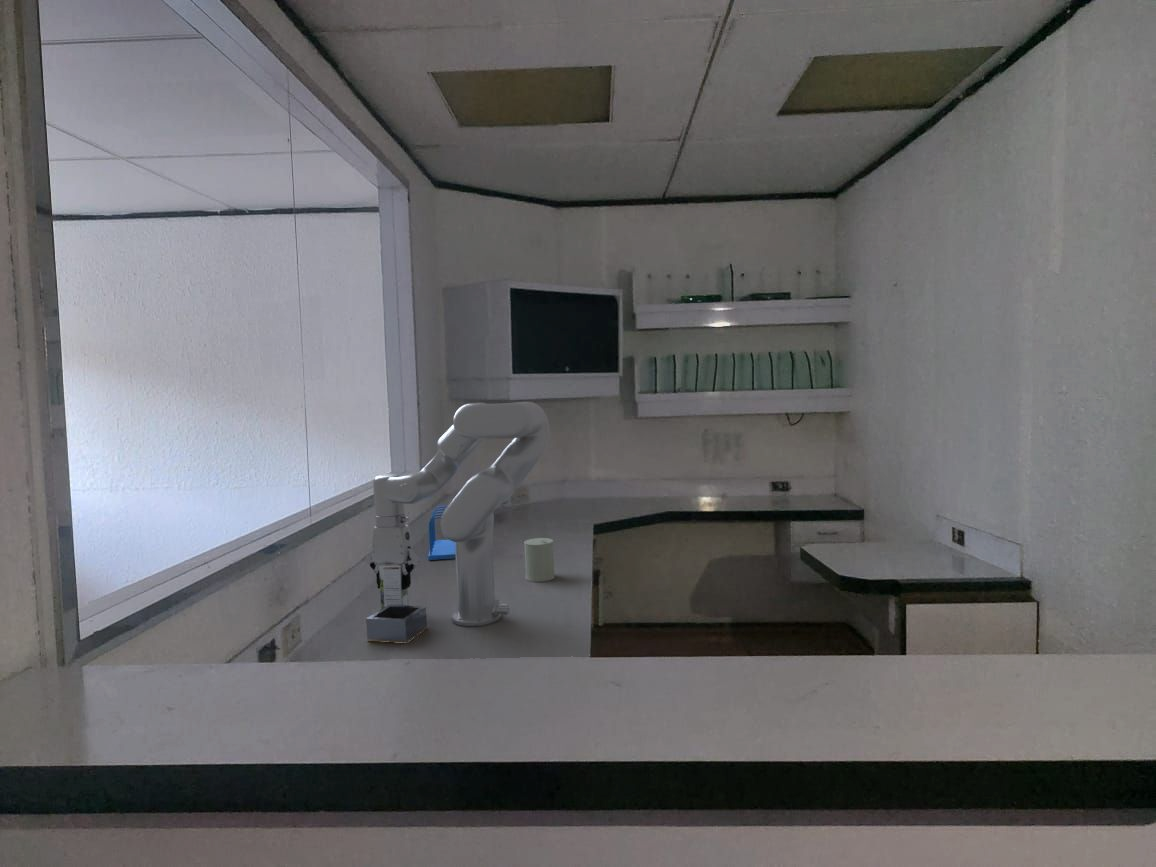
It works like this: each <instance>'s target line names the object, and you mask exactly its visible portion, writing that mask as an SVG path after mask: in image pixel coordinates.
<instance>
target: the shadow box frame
mask: <svg viewBox="0 0 1156 867" xmlns="http://www.w3.org/2000/svg"><path fill="white" fill-rule="evenodd" d="M365 622H366V637H367V639H366V640H367V642H368V641H389V642H403V643H404V642H406V643H407V642H408V641H409V640H411V639H412V638H413V637H415V636H416V635H417V634H419V633H420V632H422V631H423V630H424V629H426V628H427V629H428V620H427V606H425V605H423V606H421V605H420V606H419V605H408V606H406V605H387V606H386V607H384V608H382V609H381V608H380V609H379V610H378V611H376V612H374V613H373V614H371V615H370V616H368V617H367V618H365ZM427 629H426V630H427ZM424 631H425V630H424ZM424 631H423V632H424ZM423 632H422V633H423ZM420 634H421V633H420ZM420 634H419V635H420ZM415 638H416V637H415ZM411 641H412V640H411ZM407 644H408V643H407Z"/></svg>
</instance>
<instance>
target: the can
mask: <svg viewBox="0 0 1156 867" xmlns="http://www.w3.org/2000/svg"><path fill="white" fill-rule="evenodd" d="M523 544H524V547H523V548H524V564H525V580H526V581H528V582H533V583H534V582H536V583H541V582H548V581H551V580H554V579H555V577H556V575H555V563H554V562H555V561H554V559H555V558H554V540H553V539H552V538H548V537H547V538H546V537H534V538H529V539H526V540H525V541H524V542H523Z"/></svg>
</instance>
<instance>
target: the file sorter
mask: <svg viewBox="0 0 1156 867" xmlns="http://www.w3.org/2000/svg"><path fill="white" fill-rule="evenodd" d="M447 506H448V505H439V506H437V507H435V508H434V509H433V512H432V514H431V517H430V519H429V522H428V538H429V539H428V540H429V541H428V542H429V552H428V555H427V560H428V561H438V560H448V559H456V553H455V552H456V542H453V541H450V540H449V539H437V540H436V519H441V516H442V514H443V512H444V511H445V509H446V508H447Z"/></svg>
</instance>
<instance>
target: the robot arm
mask: <svg viewBox="0 0 1156 867" xmlns="http://www.w3.org/2000/svg"><path fill="white" fill-rule="evenodd" d="M452 419H453V420H452V423H453V424H452V425H451V426H450V427H449V428H448V429H447V430H446V431H445V432H444V433H443V434H442V435H441V437H439V439H438V440H437V443H436V444H437V451H436V454H435V455H434V456H433V457H432V459H431V460H429V462H428V463H427V464H426V465H425V466H424V467H422V469H421V470H420V471H416V472H413V473H411V474H408V475H403V476H401V475H400V474H398V473H386V474H385V473H384V474H379V475H377V476H375V477H374V478H373V480H372V481H373V482H372V485H373V486H372V487H373V501H374V503H373V504H374V519H375V526H373V529H372V530H373V532H372V536H371V538H372V539H371V551H370V552H369V553H368V554H367V555H366V557H365V558H364V561H365V562H366V563H367V564H368V565H369V566H370V568H371V569H372V570H373V572H374V574H376V577H375V578H376V585H377V589H380V573H379V566H380V565H381V564H398V565H401V570H402V572H403V575H401V578H402V589H403V590H405V589H407V588H408V589H409V588H410V587H411V583H412V578H411V577H412V576H411V573H412V571H413V570H414V569H415V568H416V566H418V564H419V563H420V561H421V558H420V557H419V556H418V555H417V554H416V553H415V552H414V548H413V547H414V546H413V540H412V534H411V531H410V527H409V524H406V523H409V521H410V518H409V516H406V513H405V505H414V504H417V503H420V502H423V501H424V500H427V499H431V497H433V496H435V495H436V494H438V492H440V491H441V489H442V488H444V486H445V485H447V483H449V481H450V480H451V479H452V478H453V477H454V476H455V475H456V473H457V472H458V470H459V469H460V468H461V466H462V464H463V463H464V462H465V461H466V460H467V459H468V458H469V457H470V456H471V455H472V454H473V453H474V451H475V450H476V449H477V448H478V447H479V446H480V445H481V444H482V443H483V442H484V441H486V440H487V439H488V440H491V439H494V440H496V439H512V440H511V442H510V443H509V444H508V445H507V446H506V447H505V448H504V449H503V451H502V452H501V453H500V455H499V456H498V457H497V458H496V460H495V461H494V462H493V463H492V464H491V465H490V466H489V467H487V468H486V469H483V470H481V471H479V472H477V473H475V474H473V475H472V476H471V477H470V478H469V479H468V480H467V481H466V482H465V483H464V485H463V486H462V488H461V489H460V490H459V491H458V493H457V494H456V495H455V497H454V498H453V499H452V500H451V501H450V503H449V504H448V505H446V506H447V507H445V508H446V509H445V508H444V509H445V510H443V511H444V512H443V513H441V514H442V516H440V517H441V518H440V522H439V524H440V525H439V526H440V531H441V534H443V536H444V537H445V538H446V540H450V541H453V542H456V552H455V553H456V558H455V572H456V575H455V576H456V591H457V592H456V593H457V609H458V610H456V611H455V612H454V613H453V614H452V621H453V623H454V624H456V625H459V626H464V627H478V626H485V625H490V624H493V623H495V622H497V621H499V620H501V618H502V615H509V614H510V613H511V612H510V611H511V610H510V609H511V608H510V606H509V604H507V603H506V604H503V603H502V604H501V603H499V598H496V597H495V596H496V592H495V578H494V577H495V575H494V549H493V544H494V543H493V542H494V541H493V537H494V536H493V535H494V525H495V520H494V518H495V516H494V512H495V510H496V509H497V508H498V507H499V506H500V505H503V504H504V503H506V502H507V501H508V500H509V499H510V498H511V497H512V495H513V494H514V493H515V491H516V490H517V489H518V487H519V486H520V485H521V484H522V482H524V480H525V479H526V478H527V477H528V475H529V473H530V472H531V471H532V469H533V468H534V467H535V465H537V463H538V461H539V460H540V459H541V458H542V456H543V454H544V453H545V451H546V449H547V447H548V444H549V441H550V435H551V428H550V423H549V419H548V417H547V414H546V412H545V411H544V409H543V408H542V407H541V406H540V405H538V404H537V403H535V402H532V401H517V402H504V403H503V402H501V403H485V402H472V403H466V404H463V405H462V406H460V407H459V408H457V410H456V412H455V413H454V416H453V418H452ZM410 561H411V563H410Z"/></svg>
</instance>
